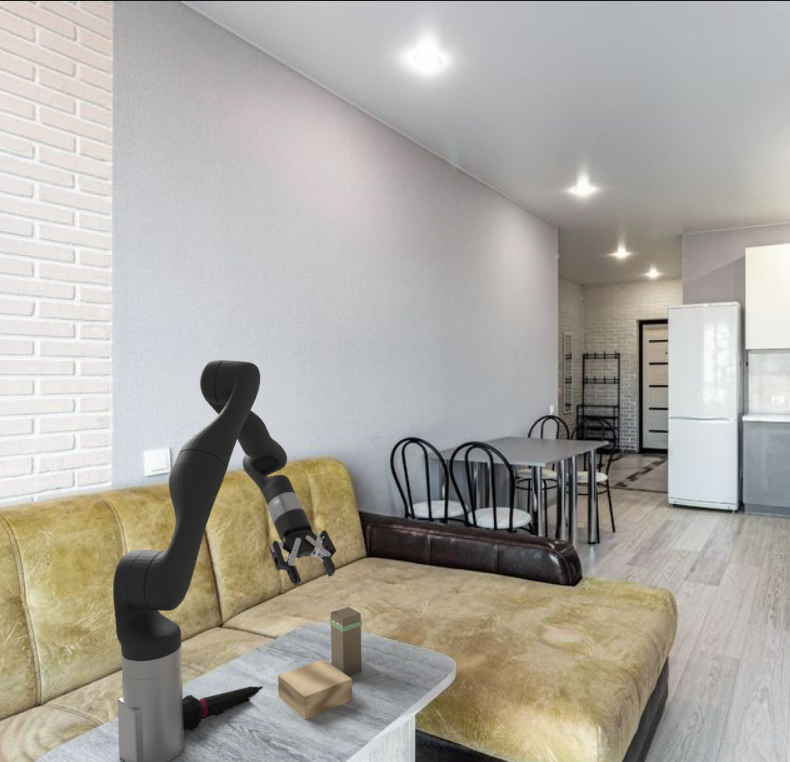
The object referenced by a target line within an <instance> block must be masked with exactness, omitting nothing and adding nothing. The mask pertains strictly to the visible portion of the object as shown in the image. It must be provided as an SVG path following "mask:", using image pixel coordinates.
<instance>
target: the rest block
mask: <svg viewBox="0 0 790 762" xmlns="http://www.w3.org/2000/svg"><path fill="white" fill-rule="evenodd" d="M330 663H331V662H328V661H326V660H325V659H320V660H317V661H316V662H312V663H309V664H306V665H303V666H301V667H298V668H296V669H292V670H289V671H285V672H283V673H280V674H278V675H277V683H278V684H277V685H278V689H277V690H278V692H277V693H278V698H280V699H281V700H282V701H283V702H284V703H285V704H287V706H289V707H290V708H291V709H292V710H294V711H295V712H296V713H297V714H298V715H299V716H300V717H302V718H303V719H304V720H308V719H310V718H312V717H315V716H317V715H319V714H323V713H324V712H327V711H330V710H332V709H334V708H337V707H339V706H342V705H344V704H347V703H350V702H351V701H352V700H353V684H352V679H351V678H350V677H348V676H347V675H346V674H344V673H343V672H341V671H340V670H338V669H337V668H335V667H334V666H333V665H331V664H330Z"/></svg>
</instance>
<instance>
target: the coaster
mask: <svg viewBox="0 0 790 762" xmlns="http://www.w3.org/2000/svg"><path fill="white" fill-rule="evenodd" d="M329 663H330V664H331V665H332V662H329ZM380 674H382V672H381V671H380V670H378V669H376V668H374V667H373V666H372V665H370V664H368V663H366V662H365V661H364V660H362V672H360V673H357V674H355V675H352V676H349V677H350V678H351V679H352V685H354V684H357V683H359V682H362V681H364V680H367V679H369V678H371V677H374V676H377V675H380Z"/></svg>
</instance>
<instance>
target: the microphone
mask: <svg viewBox="0 0 790 762" xmlns="http://www.w3.org/2000/svg"><path fill="white" fill-rule="evenodd" d="M262 689H264V685H262V686H261V685H260V686H246V687H241V688H238V689H234V690H230V691H226V692H223V693H219V694H214V695H209V696H206V697H201V698H200V699H198V698H197V697H195V696H193V695H192V694H189V695H186V696H185V697H183V726H184V731H189V730H190V731H189V732H191V730H192V731H193V730H196V729H197V728H199V726H200V724H201V722H202V721H203V720H206V719H207V718H210V717H212V716H214V717H215V716H216V717H218V716H220V715H222V714H224V712H225V711H227V710H230V709H232V708H235V707H237V706H239V704H240V705H241V704H244V703H246V702H249V701H250V700H251V699H250V697H252V696H255V694H258V693H259V692H260V690H262Z"/></svg>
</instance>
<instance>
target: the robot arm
mask: <svg viewBox="0 0 790 762" xmlns="http://www.w3.org/2000/svg"><path fill="white" fill-rule="evenodd" d="M199 386H200V388H199V389H200V391H201V394H202V395H203V398H204V400H205V402H207V404H209V406H210V407H211V408H212V409H213V410H214V411H215V413H217V416H216V417H214V418H213V419H212V420H211V421H210V422H208V423H207V424H206V425H205V426H203V427H202V428H201V429H199V430H198V431H197V432H196V433H194V434H193V435H192V436H191V437H190V438H189V439H188V440H186V441H185V443H184V444H183V445H182V446H181V448H180V450H179V453H178V454H177V457H176V459H175V461H174V464H173V466H172V469H171V472H170V474H169V477H168V489H169V490H168V491H169V495H170V499H171V502H172V506H173V510H174V515H175V516H174V517H175V526H174V531H173V533H172V534H173V535H172V537H171V540H170V542H169V545H168V547H167V548H166V550H153V549H151V550H150V549H134V550H131V551H128V552H126V553H125V554H124V555H123V556H122V557H121V559H120V560H118V563H117V564H116V565H117V566H116V567H115V571H114V575H113V582H112V583H113V585H112V598H113V607H114V608H113V609H114V617H115V618H114V619H115V631H116V632H115V633H116V637H117V640H118V642H119V645H120V646H121V678H122V680H121V681H122V682H121V683H122V686H121V687H122V697H119V698H118V700H117V720H118V721H117V723H118V755H119V756H118V757H119V758H121V760H123V761H124V762H171V761H172V760H174V759H175V758H177V757H178V756H179V755H180V754H181V752H182V751H183V749H184V746H185V740H184V739H185V730H184V726H183V698H184V694H183V689H184V688H183V657H182V655H183V654H182V652H183V651H182V647H183V646H182V630H181V628H180V626H179V625H178V624H177V622H174V621H173V620H171V619H169V618H168V617H166V616H165V615H163V614H162V613H161V611H162V612H163V611H164V612H167V611H174V610H176V609H178V607H179V606H180V605H181V604H182V603H183V601H184V599H185V598H186V596H187V594H188V591H189V589H190V585H191V583H192V579H193V575H194V572H195V569H196V565H197V561H198V557H199V553H200V550H201V545H202V542H203V539H204V535H205V531H206V527H207V525H208V521H209V519H210V517H211V512H212V510H213V507H214V504H215V502H216V499H217V497H218V495H219V492H220V489H221V487H222V484H223V481H224V478H225V475H226V474H227V471H228V468H229V464H230V461H231V458H232V455H233V451H234V449H235V447H236V445H237V442H238V443H239V446H240V447H241V449H242V451H243V453H244V454H245V455H244V456H243V459H242V467H243V469H244V471H245V473H246V474H247V476H248V477H249V478H250V479H251V481H253V482H254V483H255V485H256V486H257V487H258V488H259V489H260V492H261V494H262V496H263V498H264V500H265V503H266V505H267V508H268V512H269V515H270V517H271V518H270V519H271V521H272V523H273V525H274V527H275V531H276V533H277V535H278V537H279V540H280V541H278V540H274V541H273V542H272V544H271V546H269V551H270V554H271V557H272V559H273V563H274V565H275V566H274V567H275V569H276V570H277V571H282V570H283V571H286V573H287V575H288V577H289V581H290V582H291V583H292V584H294V586H298V585H300V583H301V582H302V579H301V576H300V574H299V572H298V569H297V567H296V565H294V563H295V560H296V558H297V559H301V558H303V557H310V556H312V557H314V558H317V559H319V560H320V561H322V565H323V567H324V569H325V572H326V574H327V576H328V577H329V578H330V577H333V576H334V575H335V572H336V566H335V564H334V562H333V559H332V558H333V556H334V555H335V554H336V552H337V548H336V546H335V545H334V542H333V541H332V539H331V538H330V535H329V533H328V531H327V530H322V531H321V532H319V533H315V532H313V528H312V525H311V523H310V520H309V518H308V516H307V513H306V512H305V509H304V507H303V504H302V502H301V500H300V499H299V497H298V495H297V494H296V492H295V490H294V487H293V485H292V483H291V481H290V479H289V477H288V476H287V475H284V474H276V475H272V474H274V473H277V472H278V471H281V470H282V469H284V468H285V467H286V465H287V462H288V456H287V452H286V450H285V448H283V447H282V446H281V444H279V442H278V441H276V440H275V439H274V438H272V436H271V434H270V432H269V430H268V428H267V426H266V424H265V422H264V421H263V419H262V418H261V417H260V416H259V415H258V414H257V413H255V412H254V411H253V410H252V408H253V405H254V404H255V401H256V398H257V396H258V393H259V391H260V386H261V372H260V369H259V367H258V366H257V364H254V363H253V362H248V361H241V360H227V359H226V360H225V359H224V360H222V359H221V360H220V359H215V360H210V361H207V362H206V363H205V364H204V366H203V368H202V370H201V372H200V377H199ZM315 549H316V550H315ZM282 550H284V551H285V552H287V553H288V554H287V555H288V556H287V558H286V561H285V559H284V556H283V555H284V554H283V552H282Z"/></svg>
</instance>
